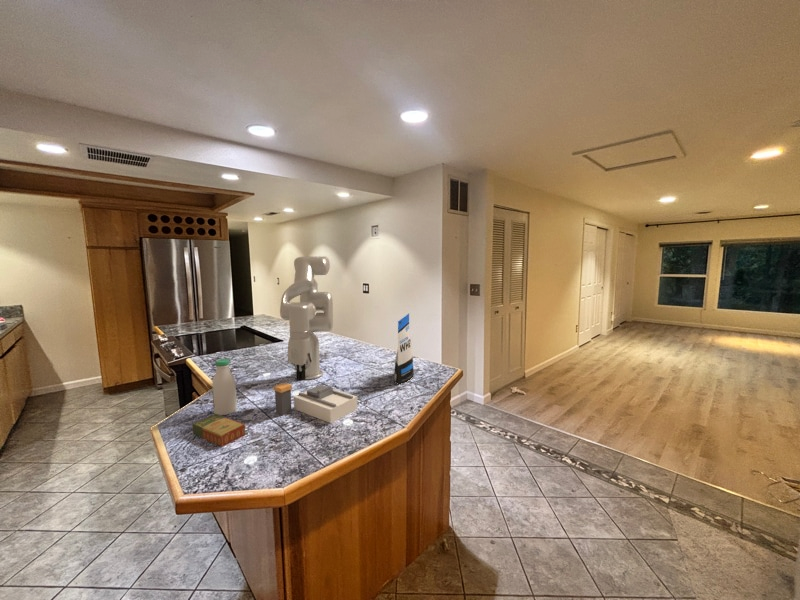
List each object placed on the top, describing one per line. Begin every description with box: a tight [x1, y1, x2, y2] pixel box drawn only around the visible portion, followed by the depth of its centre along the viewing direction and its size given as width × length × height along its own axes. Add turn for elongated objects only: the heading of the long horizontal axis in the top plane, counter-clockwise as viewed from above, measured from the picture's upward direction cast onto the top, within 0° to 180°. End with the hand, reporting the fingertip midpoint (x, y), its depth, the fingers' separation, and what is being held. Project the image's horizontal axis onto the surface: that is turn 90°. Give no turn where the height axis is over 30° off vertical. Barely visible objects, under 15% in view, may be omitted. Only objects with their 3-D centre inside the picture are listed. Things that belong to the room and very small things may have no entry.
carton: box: [192, 413, 246, 448], centre depth 108 cm, size 8×16×4 cm, turn 61°
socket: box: [293, 384, 358, 424], centre depth 127 cm, size 20×14×6 cm
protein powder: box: [393, 313, 415, 386], centre depth 161 cm, size 10×24×30 cm, turn 167°
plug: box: [273, 382, 293, 417], centre depth 123 cm, size 5×5×10 cm
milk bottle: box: [211, 358, 238, 416], centre depth 124 cm, size 8×8×20 cm
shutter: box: [306, 384, 334, 399], centre depth 128 cm, size 7×7×3 cm
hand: (301, 379), depth 133 cm, fingers closed
